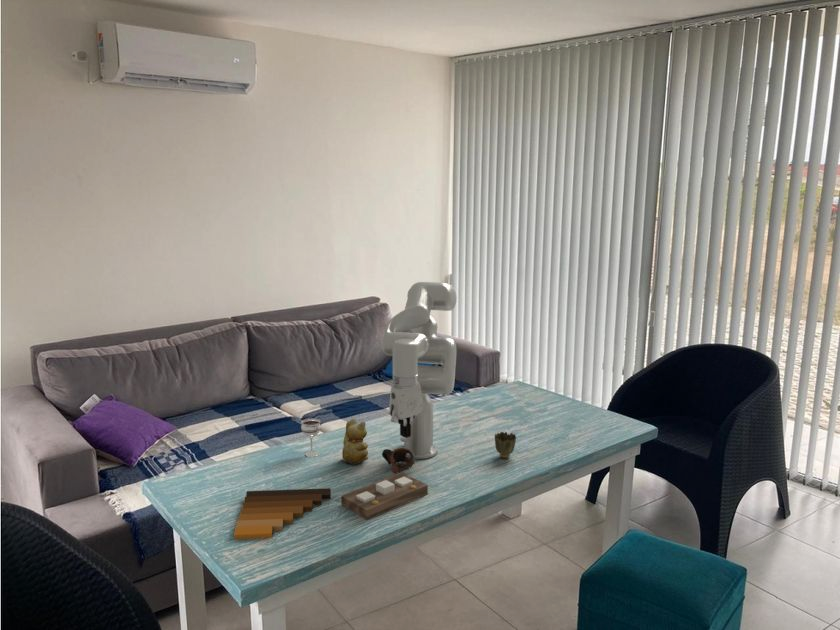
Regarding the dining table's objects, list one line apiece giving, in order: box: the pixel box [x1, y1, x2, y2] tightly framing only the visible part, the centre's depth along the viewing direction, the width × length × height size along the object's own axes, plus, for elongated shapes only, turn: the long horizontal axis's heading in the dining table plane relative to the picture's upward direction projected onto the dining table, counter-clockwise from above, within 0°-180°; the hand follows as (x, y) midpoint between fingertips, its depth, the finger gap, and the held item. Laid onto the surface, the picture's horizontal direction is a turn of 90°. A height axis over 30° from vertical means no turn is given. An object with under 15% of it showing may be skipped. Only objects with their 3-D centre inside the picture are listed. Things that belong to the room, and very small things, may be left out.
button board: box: [340, 472, 429, 521], centre depth 212 cm, size 12×24×3 cm, turn 133°
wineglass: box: [300, 417, 322, 458], centre depth 244 cm, size 7×7×12 cm
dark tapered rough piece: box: [494, 431, 517, 460], centre depth 243 cm, size 8×7×8 cm
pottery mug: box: [381, 447, 416, 475], centre depth 234 cm, size 12×10×8 cm
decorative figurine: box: [341, 417, 369, 465], centre depth 238 cm, size 10×8×15 cm
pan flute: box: [233, 487, 332, 540], centre depth 202 cm, size 25×3×25 cm
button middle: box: [376, 480, 395, 495], centre depth 212 cm, size 4×4×2 cm
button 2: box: [395, 477, 413, 487], centre depth 217 cm, size 4×4×2 cm
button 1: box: [356, 491, 375, 503], centre depth 207 cm, size 4×4×2 cm
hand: (405, 435), depth 217 cm, fingers closed
